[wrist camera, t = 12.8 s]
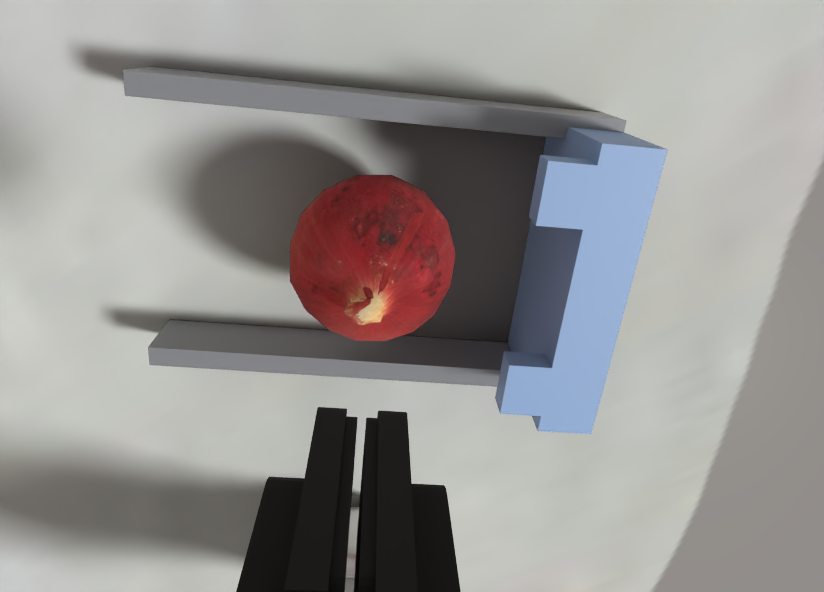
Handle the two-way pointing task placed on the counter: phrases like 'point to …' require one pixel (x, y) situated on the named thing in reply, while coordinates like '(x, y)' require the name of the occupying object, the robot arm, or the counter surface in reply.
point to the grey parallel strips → (323, 347)
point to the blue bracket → (577, 274)
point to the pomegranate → (372, 258)
